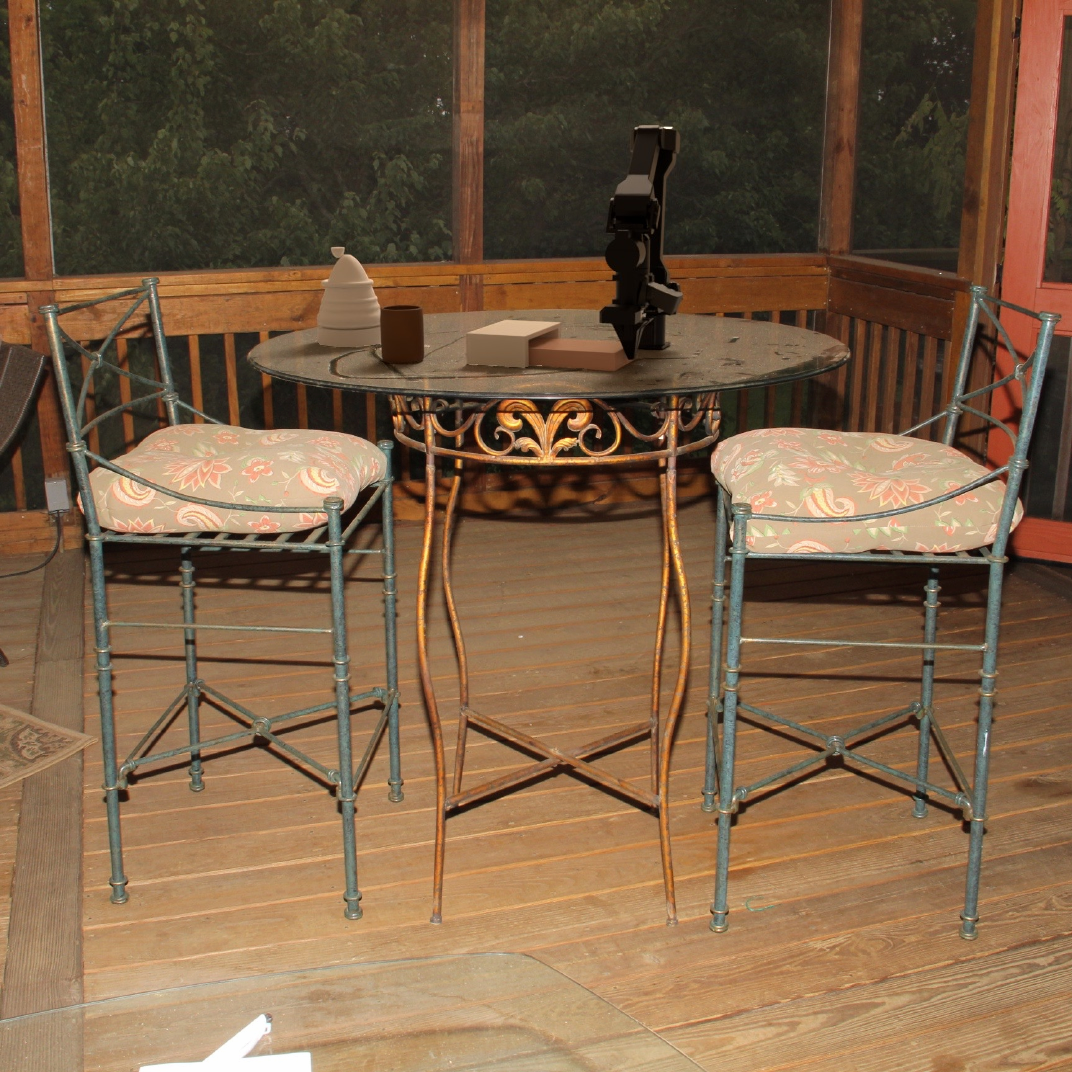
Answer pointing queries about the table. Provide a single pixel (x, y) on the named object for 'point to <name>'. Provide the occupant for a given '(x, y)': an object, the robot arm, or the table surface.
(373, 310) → the honey pot
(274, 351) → the table surface
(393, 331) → the mug
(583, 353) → the block
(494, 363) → the bridge
